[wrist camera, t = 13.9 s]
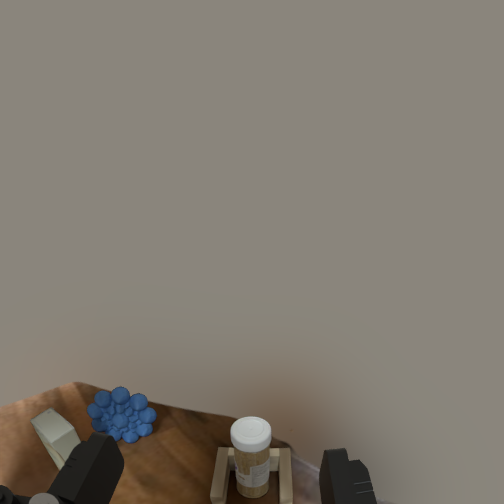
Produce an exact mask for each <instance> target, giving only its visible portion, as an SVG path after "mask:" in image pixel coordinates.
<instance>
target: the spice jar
mask: <svg viewBox="0 0 504 504" xmlns="http://www.w3.org/2000/svg"><path fill="white" fill-rule="evenodd" d="M231 441H232V444H233V446H234V460H235V471H236V478H237V485H236V487H237V490H238V492H239V493H240V494H241V495H243V496H244V497H247V498H259V497H261V496H263V495H264V494H266V493H267V491H268V489H269V482H268V478H269V468H270V452H269V451H270V442H271V427H270V425H269V423H268V422H267V421H266V420H264V419H262V418H259V417H254V416H249V417H243V418H240V419H238V420H237V421H235V422H234V423H233V425H232V427H231Z"/></svg>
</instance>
